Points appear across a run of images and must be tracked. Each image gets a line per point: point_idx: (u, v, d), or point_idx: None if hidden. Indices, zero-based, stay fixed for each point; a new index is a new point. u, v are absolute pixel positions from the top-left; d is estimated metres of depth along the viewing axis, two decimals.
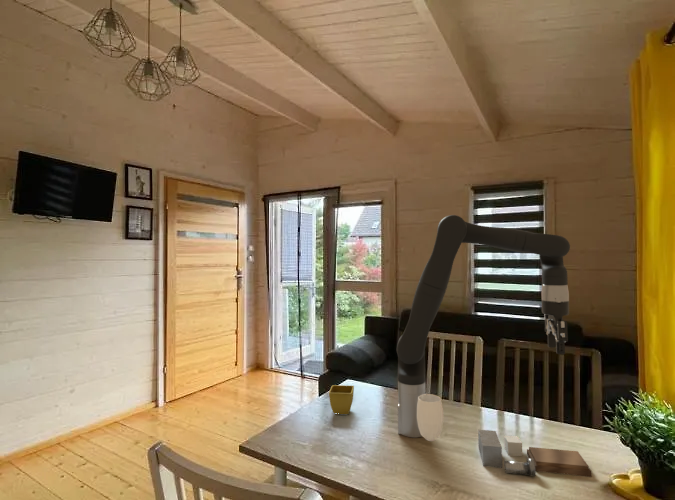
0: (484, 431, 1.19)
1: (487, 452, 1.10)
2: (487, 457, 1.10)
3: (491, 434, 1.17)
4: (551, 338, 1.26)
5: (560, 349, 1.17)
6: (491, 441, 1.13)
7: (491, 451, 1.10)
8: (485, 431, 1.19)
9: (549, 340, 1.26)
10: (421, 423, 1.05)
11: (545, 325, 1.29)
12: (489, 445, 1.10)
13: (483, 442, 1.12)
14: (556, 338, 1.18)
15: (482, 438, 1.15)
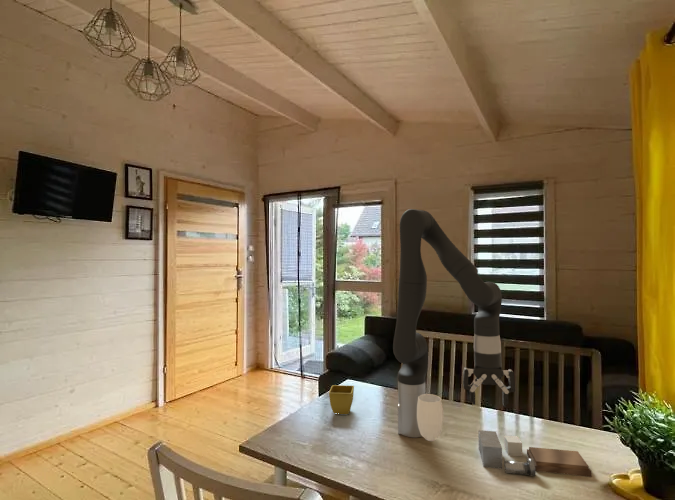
0: (484, 432, 1.18)
1: (487, 453, 1.10)
2: (487, 458, 1.10)
3: (492, 435, 1.16)
4: (474, 394, 1.16)
5: None
6: (491, 441, 1.13)
7: (491, 452, 1.10)
8: (485, 432, 1.18)
9: None
10: (421, 423, 1.05)
11: (465, 382, 1.15)
12: (489, 446, 1.10)
13: (483, 443, 1.12)
14: (506, 390, 1.13)
15: (482, 439, 1.14)
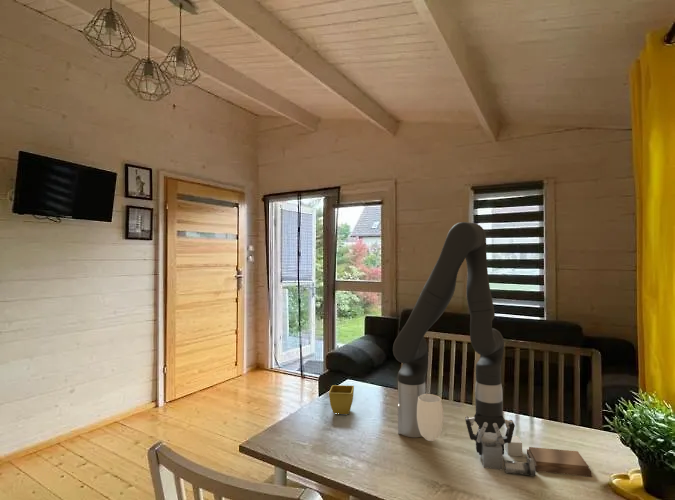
0: (485, 432, 1.18)
1: (488, 453, 1.09)
2: (488, 458, 1.09)
3: (492, 435, 1.16)
4: None
5: None
6: (492, 441, 1.12)
7: (492, 452, 1.09)
8: (486, 432, 1.18)
9: None
10: (421, 423, 1.05)
11: (470, 432, 1.15)
12: (490, 446, 1.10)
13: (484, 443, 1.11)
14: (502, 441, 1.13)
15: (483, 439, 1.14)
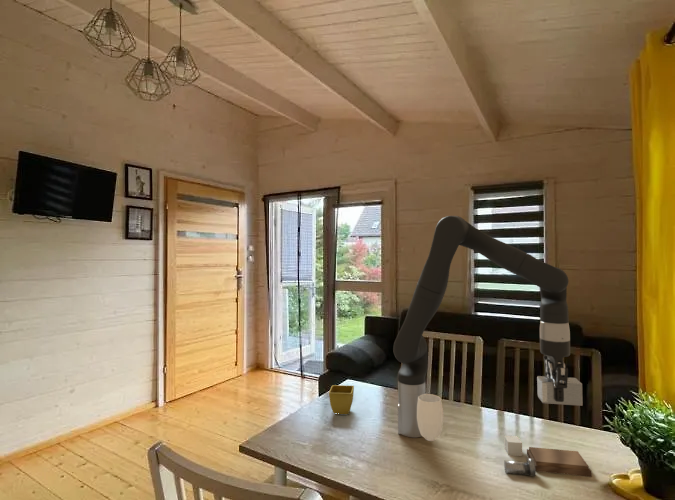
0: (544, 379, 1.10)
1: None
2: None
3: (549, 378, 1.11)
4: None
5: None
6: None
7: None
8: (543, 379, 1.10)
9: None
10: (421, 423, 1.05)
11: (566, 380, 1.05)
12: (577, 381, 1.08)
13: (574, 382, 1.07)
14: (556, 376, 1.13)
15: None
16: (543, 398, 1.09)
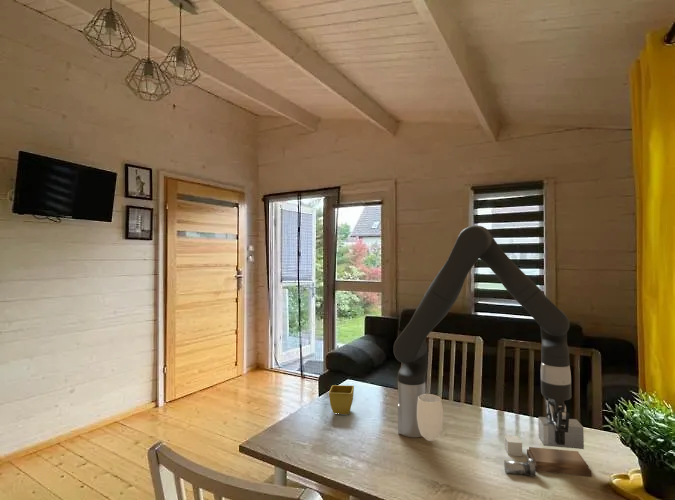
0: (545, 421, 1.10)
1: None
2: None
3: (551, 419, 1.11)
4: None
5: None
6: None
7: None
8: (545, 421, 1.10)
9: None
10: (421, 423, 1.05)
11: None
12: (579, 424, 1.08)
13: (575, 426, 1.07)
14: (557, 417, 1.13)
15: None
16: (544, 441, 1.09)
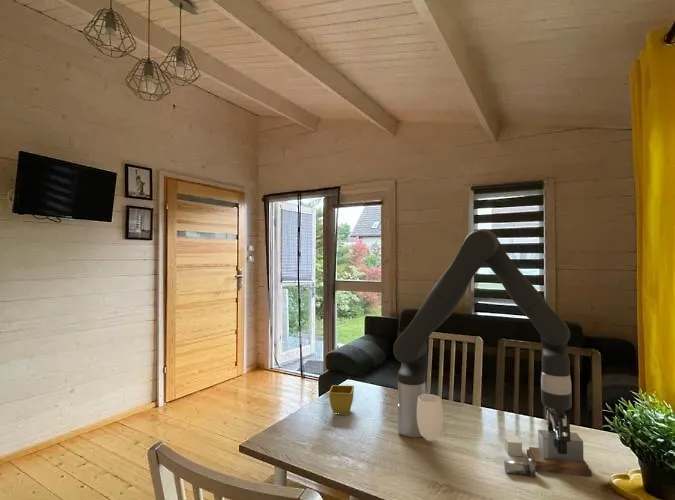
0: (545, 435, 1.10)
1: None
2: None
3: (550, 433, 1.11)
4: None
5: None
6: None
7: None
8: (544, 434, 1.10)
9: None
10: (421, 423, 1.05)
11: None
12: (578, 437, 1.08)
13: (575, 439, 1.07)
14: None
15: None
16: (544, 454, 1.09)
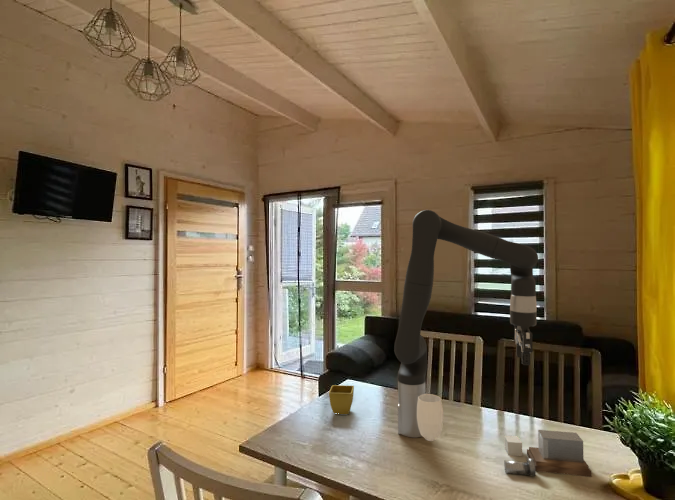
0: (545, 435, 1.10)
1: None
2: None
3: (550, 433, 1.11)
4: None
5: None
6: (566, 435, 1.10)
7: None
8: (544, 434, 1.10)
9: None
10: (421, 423, 1.05)
11: (531, 345, 1.16)
12: (578, 437, 1.08)
13: (575, 439, 1.07)
14: None
15: (565, 438, 1.08)
16: (544, 454, 1.09)
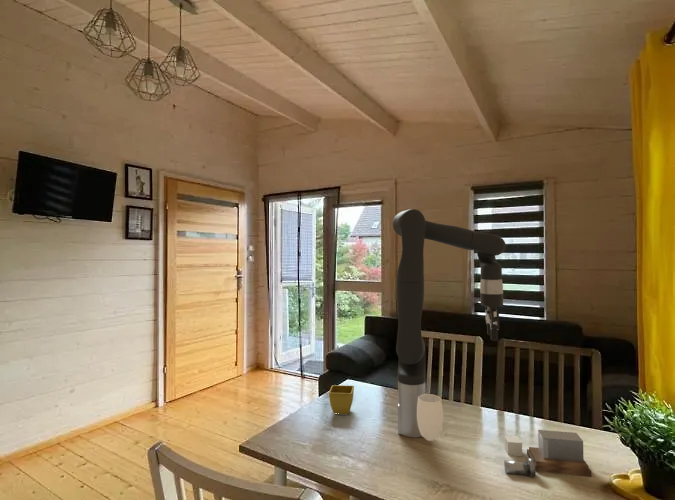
0: (545, 435, 1.10)
1: None
2: None
3: (550, 433, 1.11)
4: None
5: None
6: (566, 435, 1.10)
7: None
8: (544, 434, 1.10)
9: None
10: (421, 423, 1.05)
11: (498, 322, 1.31)
12: (578, 437, 1.08)
13: (575, 439, 1.07)
14: None
15: (565, 438, 1.08)
16: (544, 454, 1.09)
